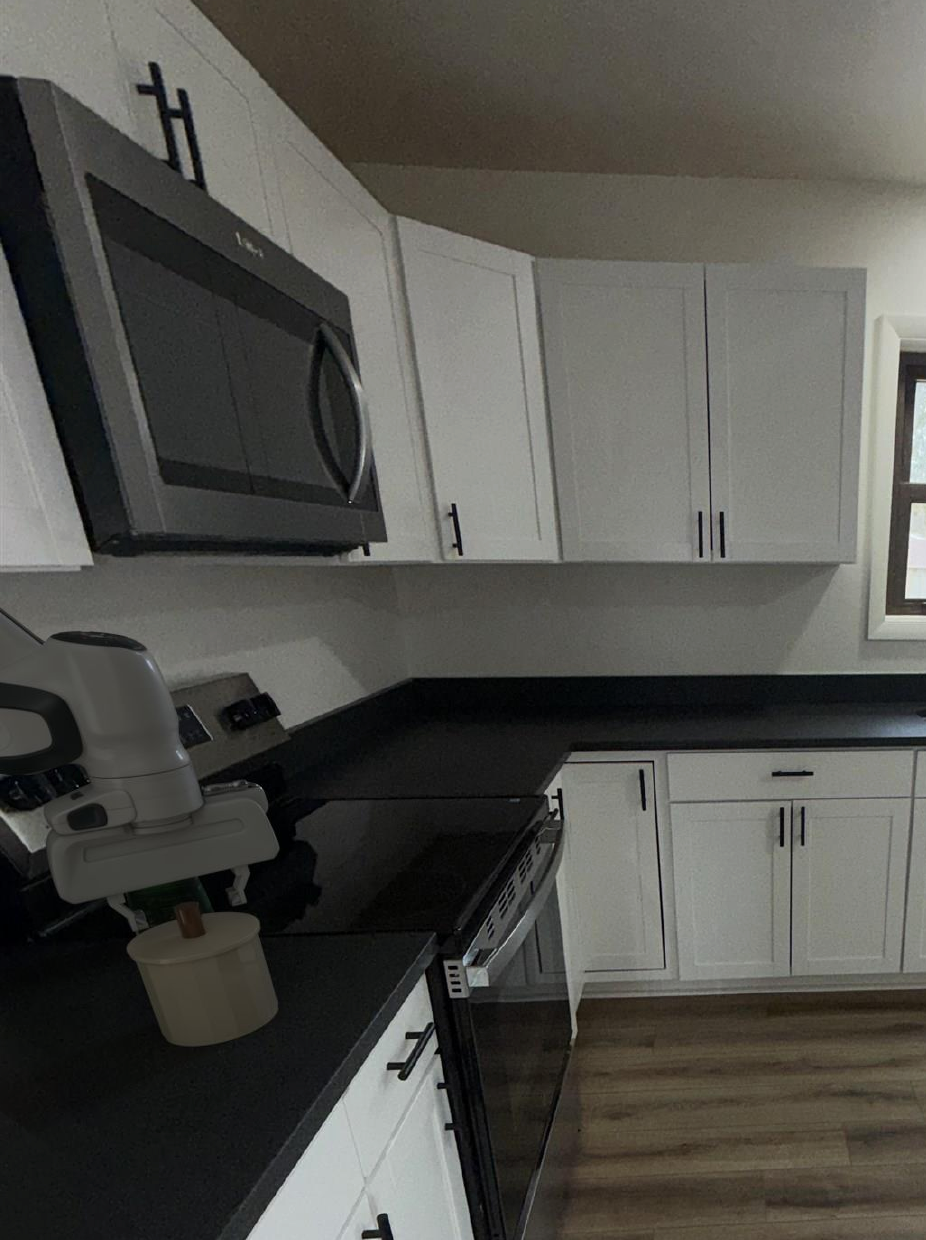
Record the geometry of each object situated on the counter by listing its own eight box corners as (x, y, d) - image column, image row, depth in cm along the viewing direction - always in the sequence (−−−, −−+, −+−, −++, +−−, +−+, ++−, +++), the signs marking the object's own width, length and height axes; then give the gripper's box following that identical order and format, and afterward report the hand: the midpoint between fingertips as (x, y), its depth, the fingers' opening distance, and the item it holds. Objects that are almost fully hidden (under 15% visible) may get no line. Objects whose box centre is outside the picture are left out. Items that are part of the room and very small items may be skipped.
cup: (197, 1057, 91) (167, 971, 87) (143, 1029, 96) (112, 947, 92) (298, 1010, 100) (276, 931, 96) (244, 987, 106) (221, 910, 101)
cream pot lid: (167, 980, 86) (152, 939, 84) (107, 952, 92) (92, 914, 90) (284, 935, 96) (274, 897, 94) (224, 912, 102) (213, 877, 100)
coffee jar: (218, 916, 126) (181, 796, 118) (217, 935, 119) (178, 810, 112) (140, 930, 121) (96, 807, 113) (135, 950, 115) (89, 822, 107)
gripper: (252, 771, 96) (283, 883, 101) (23, 809, 83) (73, 934, 88) (268, 781, 92) (300, 897, 97) (30, 822, 78) (83, 953, 84)
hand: (190, 915), depth 93 cm, fingers open, 8 cm apart
